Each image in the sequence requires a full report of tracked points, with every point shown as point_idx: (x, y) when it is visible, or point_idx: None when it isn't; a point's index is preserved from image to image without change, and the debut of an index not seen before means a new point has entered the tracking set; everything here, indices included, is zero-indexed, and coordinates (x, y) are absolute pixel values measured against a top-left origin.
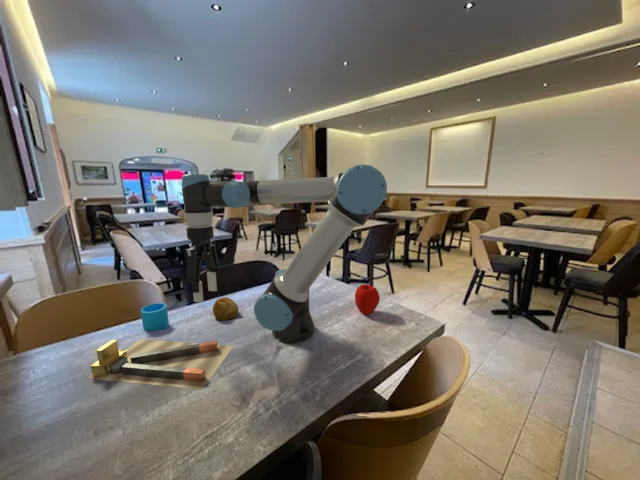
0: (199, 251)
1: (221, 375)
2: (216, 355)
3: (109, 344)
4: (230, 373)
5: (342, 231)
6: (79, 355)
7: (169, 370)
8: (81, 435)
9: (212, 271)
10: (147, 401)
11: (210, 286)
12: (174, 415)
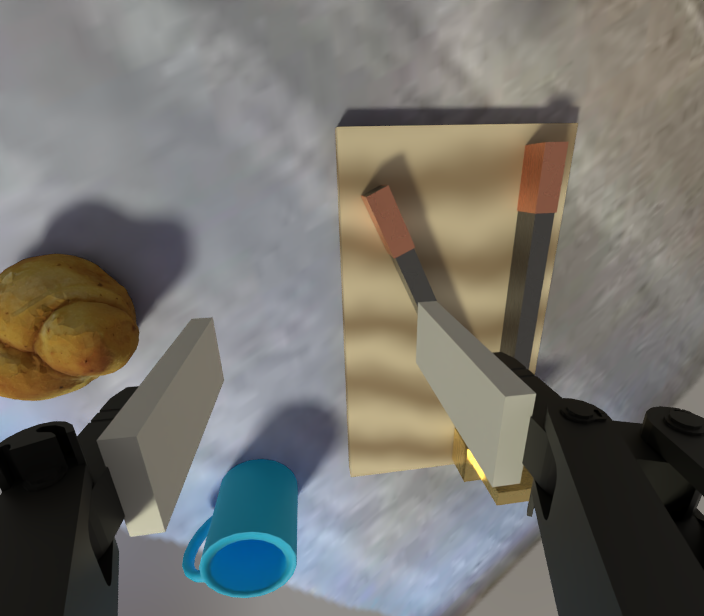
0: None
1: (482, 106)
2: (407, 171)
3: (521, 492)
4: (471, 75)
5: None
6: (419, 545)
7: (543, 264)
8: (652, 329)
9: (108, 488)
10: (577, 268)
11: (211, 383)
12: (630, 163)
